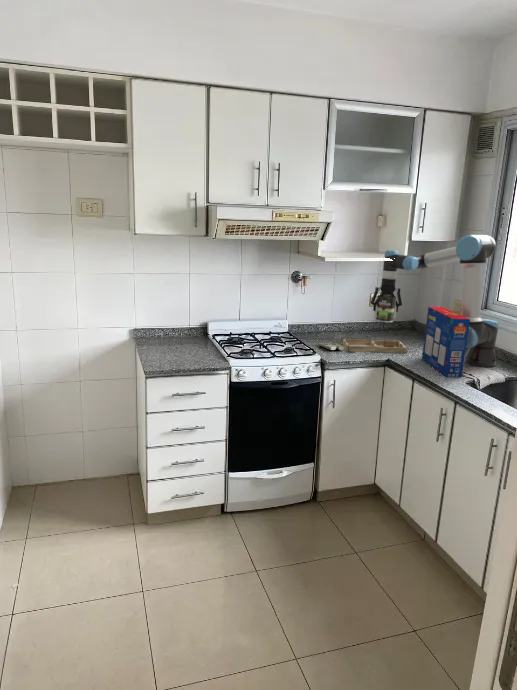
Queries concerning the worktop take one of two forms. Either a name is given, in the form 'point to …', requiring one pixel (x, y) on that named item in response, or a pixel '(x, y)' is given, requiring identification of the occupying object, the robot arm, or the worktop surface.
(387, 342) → the walnut cube
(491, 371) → the worktop surface
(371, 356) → the worktop surface
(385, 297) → the coffee can
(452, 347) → the blue cardboard box
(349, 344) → the wooden organizer
